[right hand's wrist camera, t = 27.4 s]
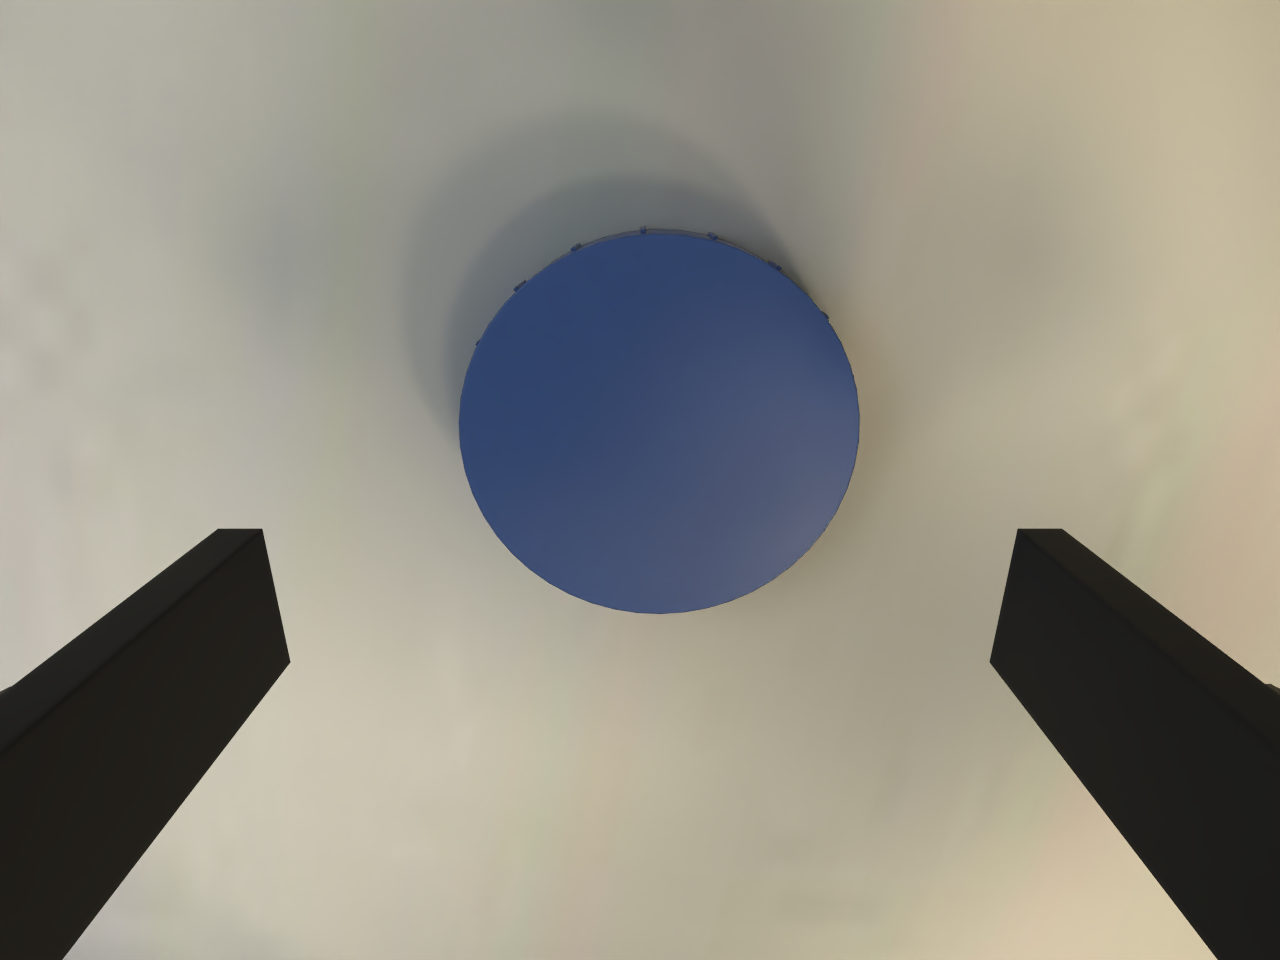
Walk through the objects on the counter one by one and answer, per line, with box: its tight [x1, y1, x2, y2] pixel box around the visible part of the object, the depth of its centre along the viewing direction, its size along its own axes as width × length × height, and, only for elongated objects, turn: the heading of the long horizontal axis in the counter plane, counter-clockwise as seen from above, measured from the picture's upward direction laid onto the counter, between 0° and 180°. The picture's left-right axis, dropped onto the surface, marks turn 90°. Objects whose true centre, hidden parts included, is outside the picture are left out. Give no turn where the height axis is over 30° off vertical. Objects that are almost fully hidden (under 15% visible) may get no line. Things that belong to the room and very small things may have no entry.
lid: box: [459, 226, 860, 614], centre depth 19 cm, size 10×10×2 cm
